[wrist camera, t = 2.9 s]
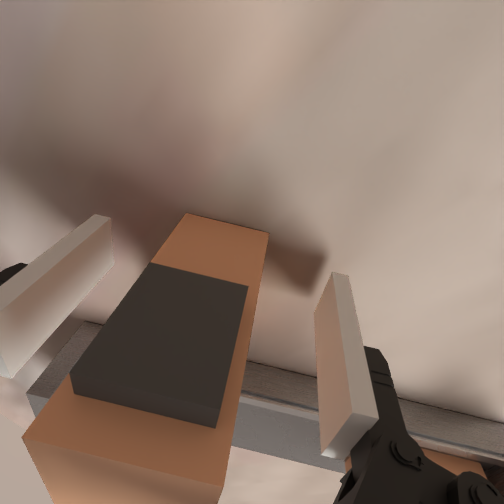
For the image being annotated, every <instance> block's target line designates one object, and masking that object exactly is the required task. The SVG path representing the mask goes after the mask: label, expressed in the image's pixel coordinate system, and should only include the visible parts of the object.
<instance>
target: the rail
mask: <svg viewBox="0 0 504 504" xmlns="http://www.w3.org/2000/svg"><path fill="white" fill-rule="evenodd" d="M102 327H103V325H99V324H95V323H91V322H87V321H84V323H83V324H82V325H81V326H80V328H79V329H78V330H77V331H76V332H75V334H74V335H73V336H72V337H71V339H70V340H69V341H68V342H67V343H66V345H65V346H64V347H63V348H62V350H61V351H60V352H59V353H58V354H57V356H56V357H55V358H54V359H53V361H52V362H51V363H50V364H49V365H48V367H47V368H46V369H45V370H44V372H43V373H42V374H41V375H40V376H39V378H38V379H37V380H36V381H35V383H34V384H33V385H32V386H31V387H30V389H29V390H28V391H27V392H26V395H27V397H28V400H29V402H30V405H31V407H32V410H33V412H34V415H35V417H37V416H38V414H39V413H40V411H41V410H42V409H43V407H44V406H45V405H46V403H47V402H48V401H49V399H50V398H51V396H52V395H53V394H54V392H55V391H56V390H57V388H58V387H59V386H60V384H61V383H62V381H63V380H64V379H65V377H66V376H67V375H68V373H69V372H70V370H71V369H72V368H73V366H74V365H75V364H76V362H77V361H78V360H79V358H80V357H81V355H82V354H83V353H84V351H85V350H86V349H87V347H88V346H89V345H90V343H91V342H92V341H93V339H94V338H95V336H96V335H97V334H98V332H99V331H100V330H101V328H102ZM398 402H399V405H400V409H401V412H402V416H403V419H404V423H405V427H406V430H407V432H408V435H410V436H411V437H412V438H413V439H414V440H415V441H416V442H417V443H418V445H419V446H420V448H422V449H426V450H430V451H434V452H438V453H442V454H446V455H450V456H454V457H458V458H462V459H466V460H470V461H475V462H479V463H480V464H481V466H482V468H483V471H484V473H485V475H486V477H487V480H488V481H490V482H491V483H492V484H493V485H494V486H495V488H496V489H497V490H498V491H499V492H500V493H501V495H502V496H503V498H504V424H502V423H498V422H494V421H490V420H485V419H481V418H477V417H473V416H469V415H465V414H461V413H457V412H453V411H449V410H445V409H441V408H437V407H433V406H428V405H424V404H420V403H416V402H412V401H408V400H404V399H400V398H398ZM231 446H235V447H239V448H243V449H248V450H252V451H256V452H260V453H264V454H268V455H272V456H276V457H280V458H284V459H288V460H292V461H296V462H300V463H304V464H308V465H312V466H316V467H320V468H324V469H328V470H332V471H336V472H341V473H345V474H346V470H345V462H346V461H347V460H348V459H349V457H350V454H349V455H348V456H347V457H346V458H345V459H344V461H343V460H339V459H335V458H331V457H327V456H323V455H321V445H320V425H319V405H318V385H317V378H315V377H310V376H306V375H302V374H298V373H294V372H290V371H286V370H282V369H278V368H274V367H270V366H266V365H262V364H258V363H253V362H249V361H246V365H245V371H244V376H243V382H242V387H241V393H240V398H239V404H238V409H237V415H236V421H235V426H234V432H233V437H232V443H231Z"/></svg>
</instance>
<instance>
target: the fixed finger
mask: <svg viewBox="0 0 504 504" xmlns="http://www.w3.org/2000/svg"><path fill="white" fill-rule="evenodd" d="M421 449H422V448H421ZM422 451H423V452H424V455H425V456H426V457H427V458H429V459H430V460H432V461H433V462H435V463H436V464H438V465H440V466H442V467H443V468H445V469H447V470H448V471H450V472H452V473H454V474H455V475H457V476H458V475H459V474H461V473H462V472H467V471H471V472H474V473H477V474H480V475H481V476H483V477H484V478H485V479H487V477H486V475H485V473H484V471H483V468H482V466H481V464H480V463H479V462H475V461H470V460H466V459H462V458H458V457H454V456H450V455H446V454H442V453H438V452H434V451H430V450H426V449H422ZM351 468H352V464H351V456H350V457H349V459H348V460H347V461H346V462H345V470H346V473H347V472H348V471H349V470H350V469H351Z"/></svg>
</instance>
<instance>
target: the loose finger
mask: <svg viewBox="0 0 504 504" xmlns="http://www.w3.org/2000/svg"><path fill="white" fill-rule="evenodd" d="M268 237H269V233H267V232H262V231H258V230H254V229H250V228H246V227H242V226H238V225H234V224H230V223H225V222H221V221H217V220H213V219H209V218H205V217H201V216H197V215H193V214H188V213H186V214H185V215H184V217H183V218H182V219H181V221H180V222H179V223H178V225H177V226H176V227H175V229H174V230H173V232H172V233H171V234H170V236H169V237H168V238H167V240H166V241H165V242H164V244H163V245H162V247H161V248H160V249H159V251H158V252H157V253H156V255H155V256H154V257H153V259H152V260H151V262H150V263H149V264H148V266H147V267H146V268H145V270H144V271H143V272H142V274H141V275H140V276H139V278H138V279H137V281H136V282H135V283H134V285H133V286H132V287H131V289H130V290H129V291H128V293H127V294H126V296H125V297H124V298H123V300H122V301H121V302H120V304H119V305H118V306H117V308H116V309H115V311H114V312H113V313H112V315H111V316H110V317H109V319H108V320H107V321H106V323H105V324H104V326H103V327H102V328H101V330H100V331H99V332H98V334H97V335H96V336H95V338H94V339H93V341H92V342H91V343H90V345H89V346H88V347H87V349H86V350H85V351H84V353H83V354H82V355H81V357H80V358H79V360H78V361H77V362H76V364H75V365H74V366H73V368H72V369H71V370H70V372H69V373H68V375H67V376H66V377H65V379H64V380H63V381H62V383H61V384H60V386H59V387H58V388H57V390H56V391H55V392H54V394H53V395H52V396H51V398H50V399H49V401H48V402H47V403H46V405H45V406H44V407H43V409H42V410H41V411H40V413H39V414H38V416H37V417H36V418H35V420H34V421H33V422H32V424H31V425H30V426H29V428H28V429H27V430H26V432H25V433H24V435H23V436H22V439H23V441H24V443H25V445H26V447H27V450H28V452H29V454H30V456H31V458H32V460H33V462H34V464H35V466H36V468H37V470H38V472H39V474H40V476H41V478H42V480H43V482H44V484H45V486H46V488H47V490H48V492H49V494H50V496H51V498H52V500H53V502H54V504H217V503H218V500H219V498H220V495H221V493H222V490H223V487H224V482H225V476H226V470H227V465H228V459H229V454H230V448H231V443H232V437H233V432H234V426H235V421H236V415H237V409H238V404H239V398H240V393H241V387H242V382H243V376H244V371H245V365H246V360H247V354H248V348H249V343H250V337H251V332H252V326H253V321H254V315H255V310H256V304H257V298H258V293H259V287H260V282H261V276H262V271H263V265H264V260H265V254H266V249H267V243H268Z"/></svg>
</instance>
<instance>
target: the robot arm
mask: <svg viewBox="0 0 504 504" xmlns="http://www.w3.org/2000/svg"><path fill="white" fill-rule="evenodd" d="M113 265H114V254H113V240H112V227H111V218H109V217H105V216H101V215H97V214H94V215H93V216H92V217H90V218H89V219H88V220H86V221H85V222H84V223H82V224H81V225H80V226H78V227H77V228H76V229H75V230H73V231H72V232H71V233H69V234H68V235H67V236H65V237H64V238H63V239H61V240H60V241H59V242H57V243H56V244H55V245H54V246H52V247H51V248H50V249H48V250H47V251H46V252H44V253H43V254H42V255H40V256H39V257H38V258H36V259H35V260H34V261H33V262H31V263H30V264H29V265H28V264H24V263H19V264H16V265H14V266H11V267H9V268H6V269H4V270H3V271H1V272H0V376H3V377H7V378H11V379H12V378H13V377H14V376H15V374H16V373H17V372H18V371H19V370H20V369H21V368H22V367H23V365H24V364H25V363H26V362H27V361H28V360H29V359H30V358H31V357H32V355H33V354H34V353H35V352H36V351H37V350H38V349H39V348H40V347H41V345H42V344H43V343H44V342H45V341H46V340H47V339H48V338H49V337H50V335H51V334H52V333H53V332H54V331H55V330H56V329H57V328H58V327H59V325H60V324H61V323H62V322H63V321H64V320H65V319H66V318H67V317H68V315H69V314H70V313H71V312H72V311H73V310H74V309H75V308H76V307H77V305H78V304H79V303H80V302H81V301H82V300H83V299H84V298H85V297H86V295H87V294H88V293H89V292H90V291H91V290H92V289H93V288H94V287H95V285H96V284H97V283H98V282H99V281H100V280H101V279H102V278H103V276H104V275H105V274H106V273H107V272H108V271H109V270H110V269H111V268H112V266H113ZM314 325H315V345H316V365H317V385H318V405H319V425H320V445H321V455H323V456H327V457H331V458H335V459H339V460H343V461H344V459H345V458H346V457H347V456H348V455H349V454H350V456H351V464H352V468H351V469H350V470H349V471H348V472H347V473H346V474H345V475H344V476H343V478H342V479H341V480H340V482H341V483H342V486H341V488H340V490H339V492H338V494H337V497H336V499H335V501H334V503H333V504H504V498H503V496H502V495H501V493H500V492H499V491H498V490H497V489H496V488H495V486H494V485H493V484H492V483H491V482H490V481H488V480H487V479H485V478H484V477H483V476H481V475H480V474H477V473H474V472H471V471H467V472H462V473H461V474H459V475H458V476H457V475H455V474H454V473H452V472H450V471H448V470H447V469H445V468H443V467H442V466H440V465H438V464H436V463H435V462H433V461H432V460H430V459H429V458H427V457H426V456H425V455H424V452H423V451H422V449H421V448H420V446H419V445H418V443H417V442H416V441H415V440H414V439H413V438H412V437H411V436H410V435H408V432H407V430H406V427H405V423H404V419H403V416H402V412H401V409H400V405H399V402H398V398H397V395H396V391H395V389H394V384H393V380H392V378H391V373H390V370H389V366H388V363H387V361H386V359H385V358H384V356H383V355H382V353H381V352H380V350H379V349H375V348H370V347H366V346H363V341H362V337H361V332H360V327H359V323H358V318H357V314H356V309H355V304H354V300H353V295H352V290H351V286H350V281H349V276H347V275H343V274H339V273H335V272H332V274H331V276H330V278H329V280H328V283H327V285H326V287H325V289H324V292H323V294H322V296H321V298H320V301H319V303H318V305H317V307H316V310H315V312H314Z"/></svg>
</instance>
